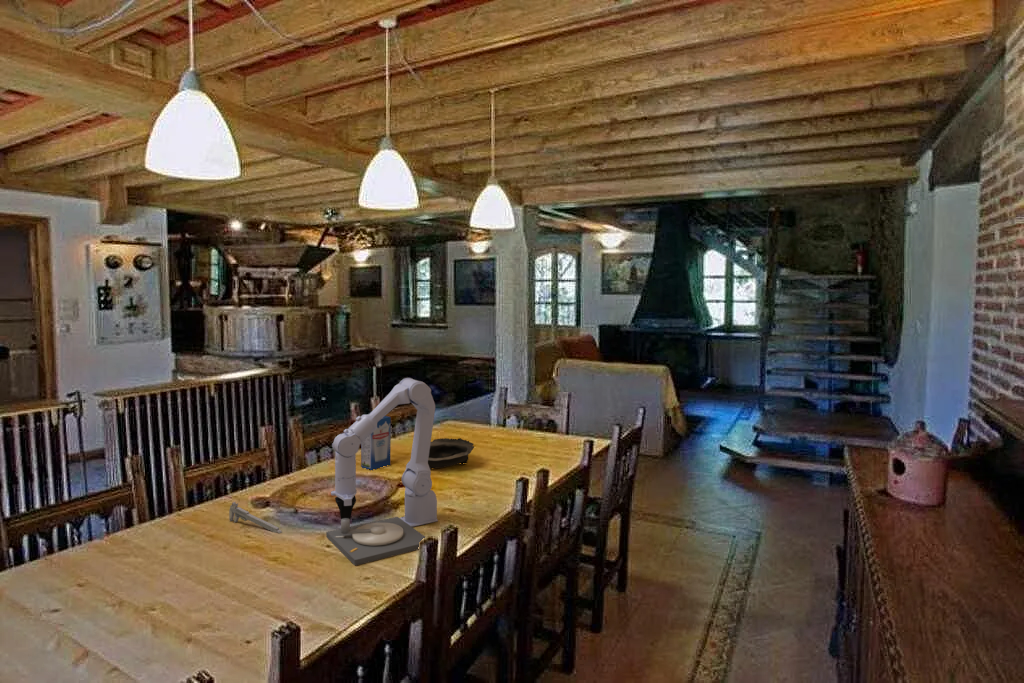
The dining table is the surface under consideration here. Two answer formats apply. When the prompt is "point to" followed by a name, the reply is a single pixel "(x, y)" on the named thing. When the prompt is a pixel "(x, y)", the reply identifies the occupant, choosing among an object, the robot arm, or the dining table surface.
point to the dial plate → (371, 553)
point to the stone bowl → (448, 452)
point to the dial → (373, 533)
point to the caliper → (249, 518)
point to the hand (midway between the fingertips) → (345, 522)
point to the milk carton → (377, 446)
